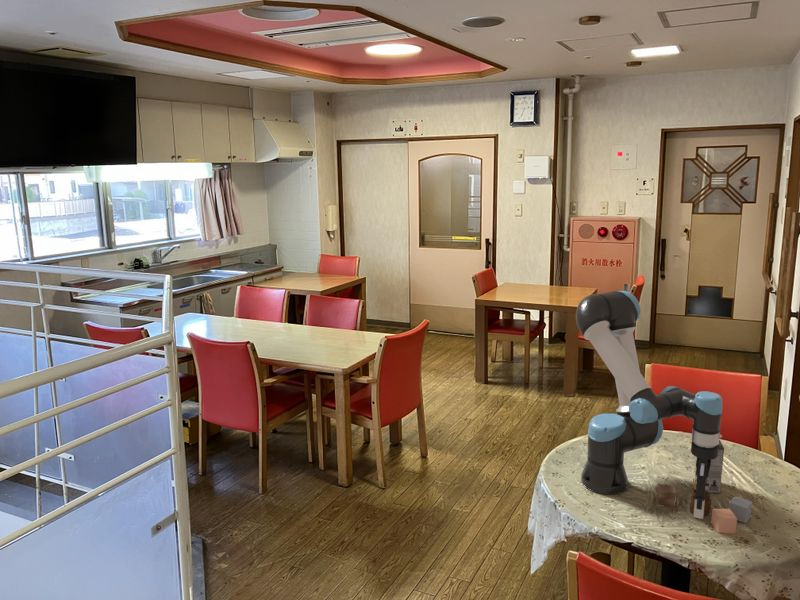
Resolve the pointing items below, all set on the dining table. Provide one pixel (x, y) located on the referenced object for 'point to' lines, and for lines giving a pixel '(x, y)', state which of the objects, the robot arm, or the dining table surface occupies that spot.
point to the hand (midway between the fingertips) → (699, 511)
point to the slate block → (741, 508)
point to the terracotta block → (724, 520)
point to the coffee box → (715, 471)
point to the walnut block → (666, 495)
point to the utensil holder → (707, 501)
